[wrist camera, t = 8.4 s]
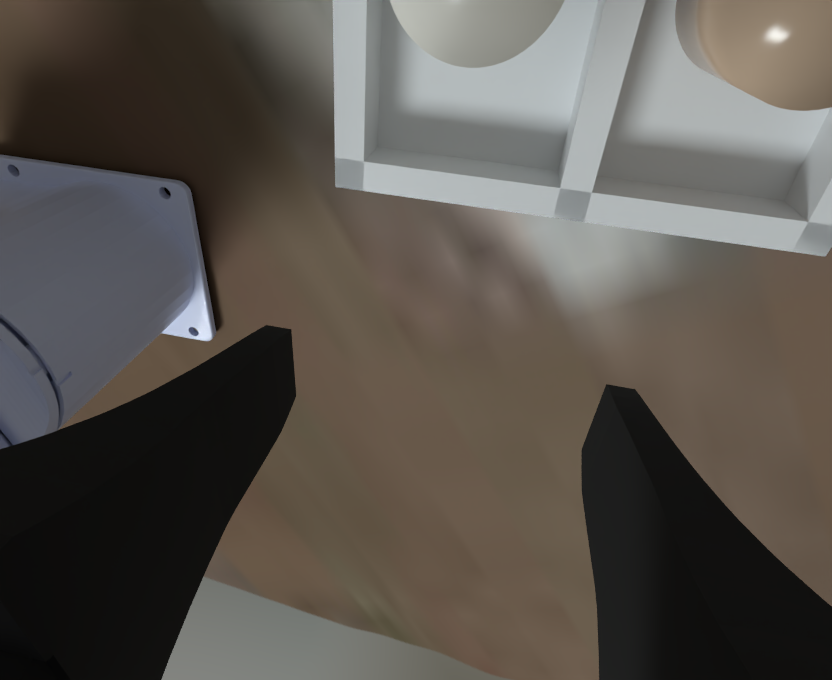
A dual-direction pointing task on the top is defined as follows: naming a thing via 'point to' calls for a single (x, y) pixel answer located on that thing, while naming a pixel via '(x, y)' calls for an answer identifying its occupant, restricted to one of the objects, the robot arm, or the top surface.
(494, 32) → the cream egg
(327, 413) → the top surface
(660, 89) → the holder
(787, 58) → the brown egg
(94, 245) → the robot arm
